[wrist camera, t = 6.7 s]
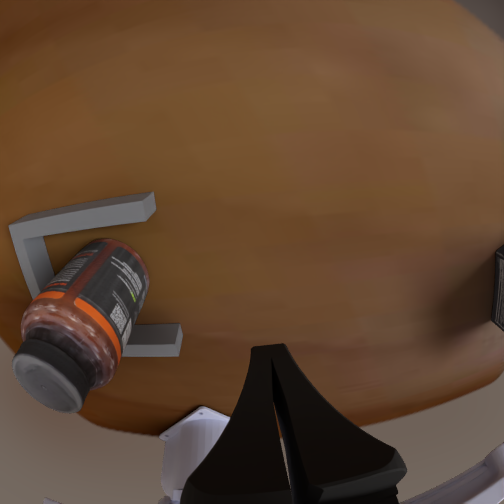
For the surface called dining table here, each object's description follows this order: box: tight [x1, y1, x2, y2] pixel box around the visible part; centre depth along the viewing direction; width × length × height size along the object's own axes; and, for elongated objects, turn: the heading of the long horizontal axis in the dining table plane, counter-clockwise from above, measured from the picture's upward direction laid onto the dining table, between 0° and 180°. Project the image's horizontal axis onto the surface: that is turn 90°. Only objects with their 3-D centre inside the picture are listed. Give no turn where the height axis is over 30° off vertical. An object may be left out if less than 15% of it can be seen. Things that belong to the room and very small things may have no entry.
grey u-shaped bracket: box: [9, 192, 183, 357], centre depth 19 cm, size 11×11×2 cm
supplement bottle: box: [12, 239, 149, 413], centre depth 14 cm, size 6×6×11 cm
